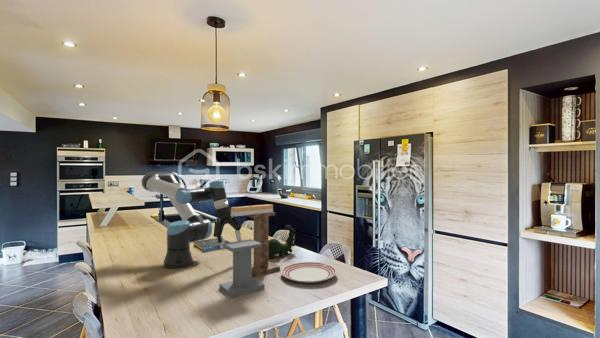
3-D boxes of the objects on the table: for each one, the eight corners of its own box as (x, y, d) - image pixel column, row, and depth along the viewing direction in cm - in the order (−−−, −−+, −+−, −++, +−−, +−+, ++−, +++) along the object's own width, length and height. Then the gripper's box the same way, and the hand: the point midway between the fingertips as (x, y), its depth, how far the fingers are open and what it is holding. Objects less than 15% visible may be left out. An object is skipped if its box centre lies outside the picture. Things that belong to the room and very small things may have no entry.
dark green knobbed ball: (287, 253, 199) (257, 258, 181) (289, 223, 200) (259, 225, 182) (297, 256, 193) (268, 261, 174) (299, 225, 194) (270, 227, 176)
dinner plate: (296, 291, 134) (296, 283, 134) (272, 272, 159) (272, 266, 159) (347, 281, 147) (347, 274, 147) (318, 264, 171) (318, 258, 171)
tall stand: (253, 276, 151) (253, 215, 151) (241, 270, 161) (241, 213, 161) (280, 270, 161) (280, 213, 161) (267, 264, 170) (268, 210, 170)
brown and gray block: (234, 216, 149) (234, 208, 149) (231, 215, 153) (231, 207, 152) (272, 212, 163) (272, 204, 163) (268, 211, 166) (268, 204, 166)
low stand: (231, 297, 127) (231, 249, 127) (219, 288, 136) (219, 243, 136) (264, 288, 137) (264, 243, 137) (251, 280, 146) (251, 238, 146)
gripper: (210, 210, 159) (220, 250, 158) (241, 202, 181) (250, 238, 179) (200, 213, 163) (210, 252, 161) (232, 205, 185) (241, 240, 183)
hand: (231, 244), depth 170 cm, fingers open, 13 cm apart
